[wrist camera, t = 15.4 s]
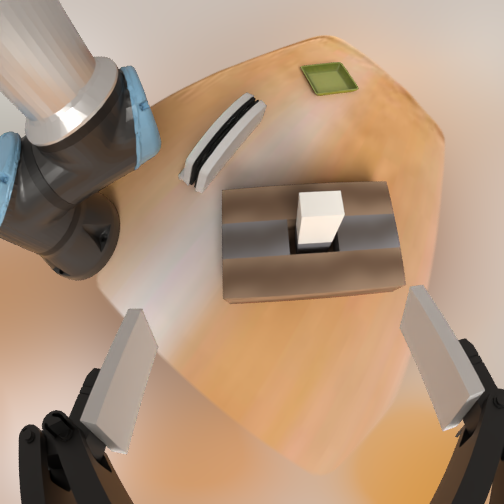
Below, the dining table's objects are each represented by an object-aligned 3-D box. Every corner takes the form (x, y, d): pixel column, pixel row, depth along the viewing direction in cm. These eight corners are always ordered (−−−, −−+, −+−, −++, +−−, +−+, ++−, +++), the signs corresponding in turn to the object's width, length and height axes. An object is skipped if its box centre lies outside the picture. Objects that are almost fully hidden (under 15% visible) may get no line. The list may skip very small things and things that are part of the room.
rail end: (326, 253, 39) (344, 214, 27) (296, 255, 39) (301, 217, 27) (324, 235, 40) (340, 190, 27) (294, 237, 40) (299, 192, 28)
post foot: (392, 291, 38) (405, 284, 33) (230, 303, 39) (223, 298, 35) (376, 197, 42) (386, 181, 37) (228, 206, 43) (222, 190, 39)
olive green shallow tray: (299, 73, 51) (299, 65, 49) (339, 68, 51) (340, 61, 49) (314, 101, 48) (315, 94, 46) (357, 96, 48) (359, 88, 46)
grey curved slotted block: (237, 110, 49) (247, 77, 39) (259, 124, 49) (274, 93, 39) (177, 180, 46) (173, 156, 36) (201, 197, 46) (203, 176, 36)
